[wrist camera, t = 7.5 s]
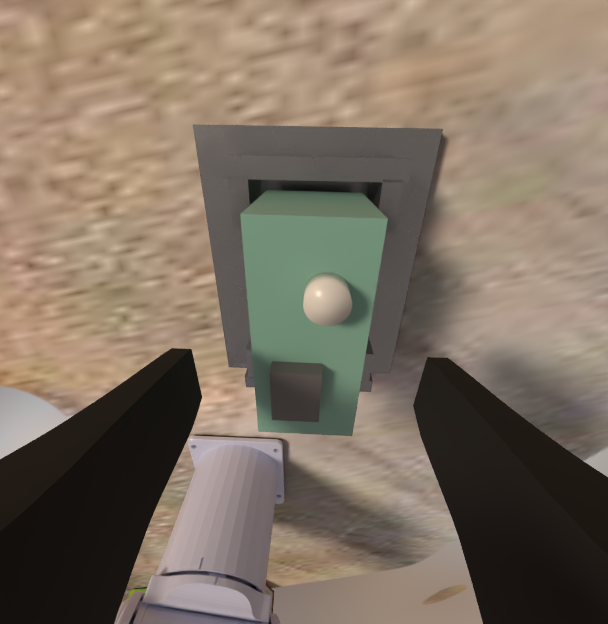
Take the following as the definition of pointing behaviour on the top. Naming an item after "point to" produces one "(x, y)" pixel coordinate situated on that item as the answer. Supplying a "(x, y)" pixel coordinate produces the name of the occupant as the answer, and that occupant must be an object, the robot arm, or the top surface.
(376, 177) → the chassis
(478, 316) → the top surface
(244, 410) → the top surface
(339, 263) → the green knobbed block
